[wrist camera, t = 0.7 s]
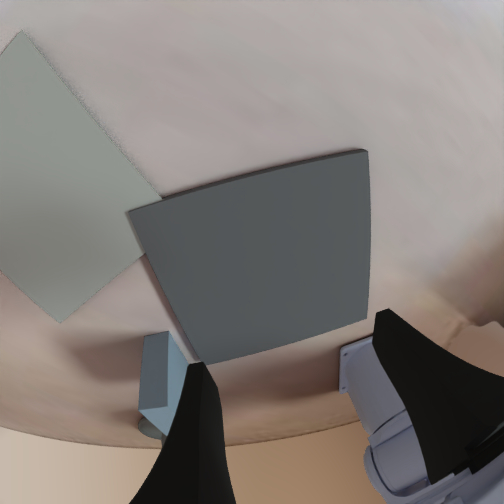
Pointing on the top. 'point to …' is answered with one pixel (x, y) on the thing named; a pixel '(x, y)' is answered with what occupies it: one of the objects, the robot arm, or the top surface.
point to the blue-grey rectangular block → (161, 379)
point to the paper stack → (60, 189)
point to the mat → (264, 254)
